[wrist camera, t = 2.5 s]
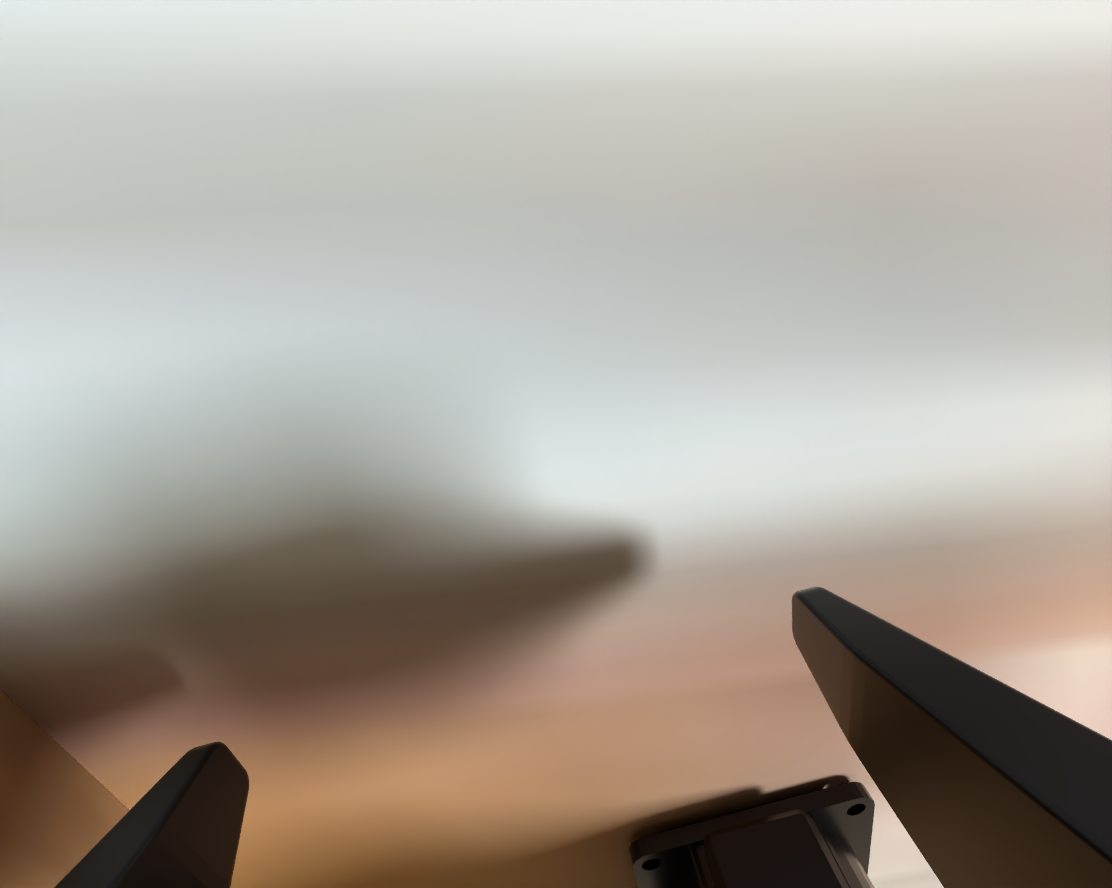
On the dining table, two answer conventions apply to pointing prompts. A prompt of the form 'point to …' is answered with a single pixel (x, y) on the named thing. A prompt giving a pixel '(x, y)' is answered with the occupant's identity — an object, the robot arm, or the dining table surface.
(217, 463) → the dining table surface
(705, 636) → the dining table surface
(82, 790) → the tan wooden block
